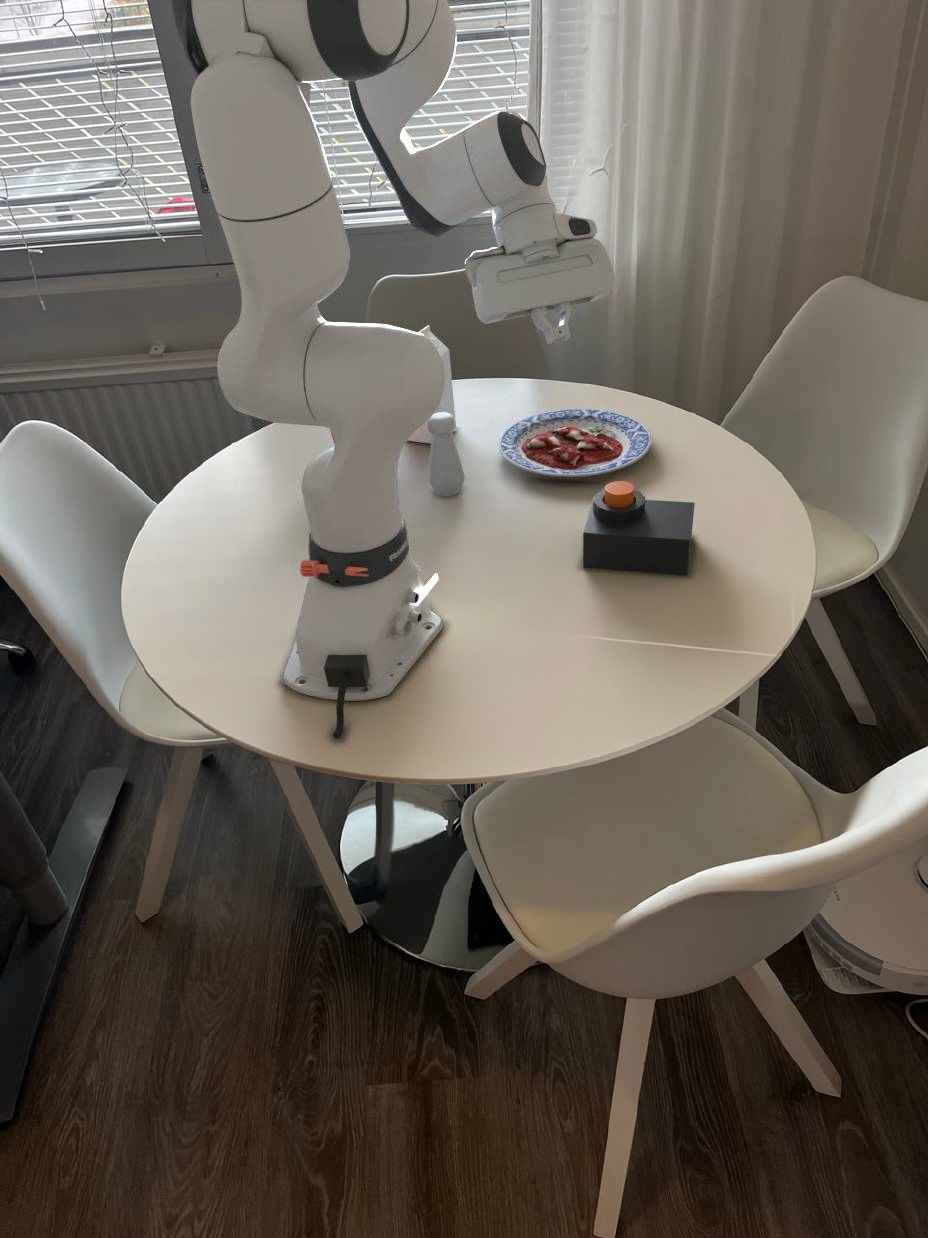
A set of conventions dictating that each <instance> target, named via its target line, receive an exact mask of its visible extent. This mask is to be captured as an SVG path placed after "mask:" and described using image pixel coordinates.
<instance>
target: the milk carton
mask: <svg viewBox="0 0 928 1238" xmlns="http://www.w3.org/2000/svg"><path fill="white" fill-rule="evenodd" d="M417 333H420V334H424V335H426V336H427V337H428V338H429V339H430V340H431V342H432V343H433V344H434V346H435V347H436V349H437V351H438V353H439V355H440V357H441V360H442V363H443V367H444V375H445V384H444V391H443V395H442V399H441V401H440V404H439V406H438V408H437V409H436V411H435V413H439V412H445V413H449V414H451V415H452V416H453V417H454V421H455V428H454V430H453V431H452V433H453V434H454V432H455V431H456V430H457V421H456V420H457V419H456V411H455V409H456V408H455V400H454V388H453V379H452V367H451V358H450V357H451V356H450V355H451V354H450V349H449V348H448V347H447V346H446V345H445V344H444V343H443V341H441V340H440V339H439V338H438V337H437V336H436V335H435V334H433V332H431V326H430V324H427V326H425V327H423V328H422V329H421V330H419V331H418V332H417ZM431 438H432V433H431V432H429V430H428V425H427V422H426V423H425V424H424V425H422V426H421V427H419V428H418V429H417V430H416V431H415V432H414V433H413V434H412V435H411V436H410V437H409V438H408V440H407V441H406V442H416V443H420V444H421V443H423V444H430V445H431Z"/></svg>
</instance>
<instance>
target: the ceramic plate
mask: <svg viewBox="0 0 928 1238" xmlns="http://www.w3.org/2000/svg"><path fill="white" fill-rule="evenodd" d="M651 445H652V435H651V432H650V430H648V428H647V427H646V426H645V425H644V424H643V423H641V422H639V421H637V420H636V419H634V418H632V417H630V416H627V415H625V414H621V413H617V412H614V411H610V410H609V411H608V410H602V409H593V408H567V409H558V410H552V411H547V412H541V413H538V414H535V415H531V416H528V417H526V418H524V419H521V420H519V421H517V422H516V423H513V424H511V425H510V426H509V427H508V428H507V429H505V431H503V432H502V433H501V436H500V437H499V439H498V450H499V452H500V454H501V456H502V457H503V459H505V460H506V461H507V462H508V463H510V464H511V465H513V466H515V467H516V468H519V469H521V470H524V471H526V472H530V473H533V474H539V475H544V476H550V477H562V478H563V477H565V478H566V477H567V478H568V477H569V478H576V477H578V478H580V477H591V476H597V475H604V474H608V473H611V472H615V471H618V470H621V469H624V468H626V467H628V466H631V465H633V464H634V463H636V462H638V461H639V460H640V459H642V458H643V457H644V456H645V455H646V454H647V453H649V450H650V448H651V447H652V446H651Z"/></svg>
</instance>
